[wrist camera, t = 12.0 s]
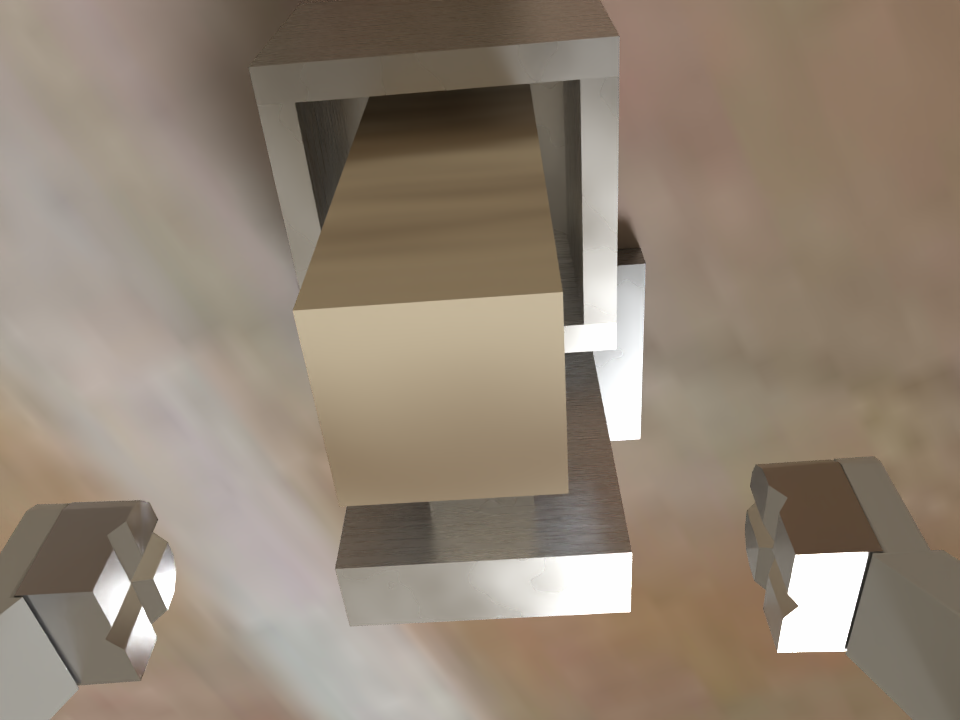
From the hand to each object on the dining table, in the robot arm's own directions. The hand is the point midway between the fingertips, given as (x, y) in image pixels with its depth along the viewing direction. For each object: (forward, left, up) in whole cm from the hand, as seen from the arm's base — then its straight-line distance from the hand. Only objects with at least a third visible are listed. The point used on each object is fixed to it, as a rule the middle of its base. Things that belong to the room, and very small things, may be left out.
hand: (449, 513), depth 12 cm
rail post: (0, 0, -14) cm, 14 cm away
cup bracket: (+5, 0, -19) cm, 20 cm away
